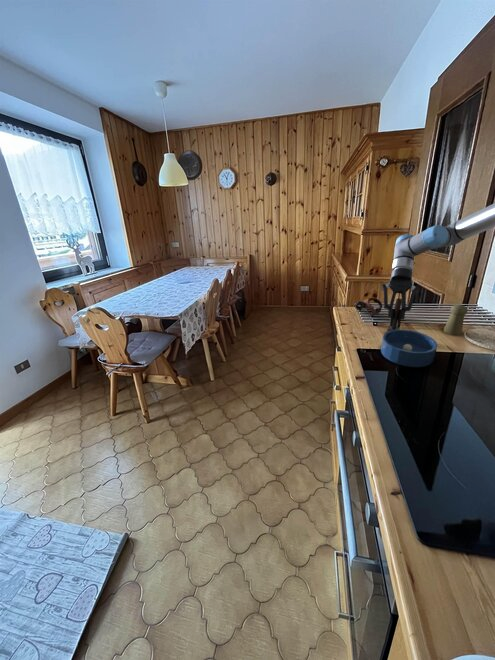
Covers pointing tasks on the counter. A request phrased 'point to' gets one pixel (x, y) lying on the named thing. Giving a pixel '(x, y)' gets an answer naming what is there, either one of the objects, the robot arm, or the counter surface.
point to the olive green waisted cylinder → (455, 320)
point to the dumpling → (407, 347)
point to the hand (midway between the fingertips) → (394, 325)
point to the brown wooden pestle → (395, 315)
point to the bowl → (417, 357)
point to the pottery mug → (369, 306)
